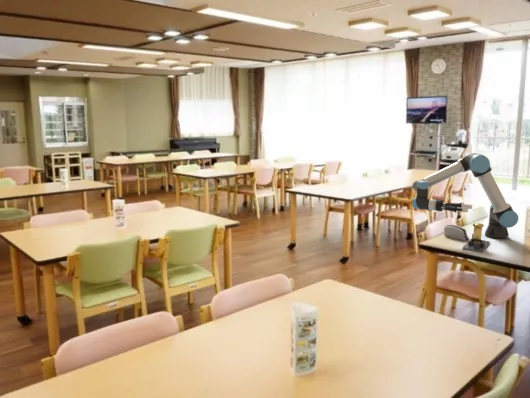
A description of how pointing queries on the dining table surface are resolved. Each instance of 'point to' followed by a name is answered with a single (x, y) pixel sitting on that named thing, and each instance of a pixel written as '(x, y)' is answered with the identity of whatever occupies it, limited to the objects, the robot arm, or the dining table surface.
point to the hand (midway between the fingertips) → (470, 208)
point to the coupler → (477, 232)
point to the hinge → (455, 232)
